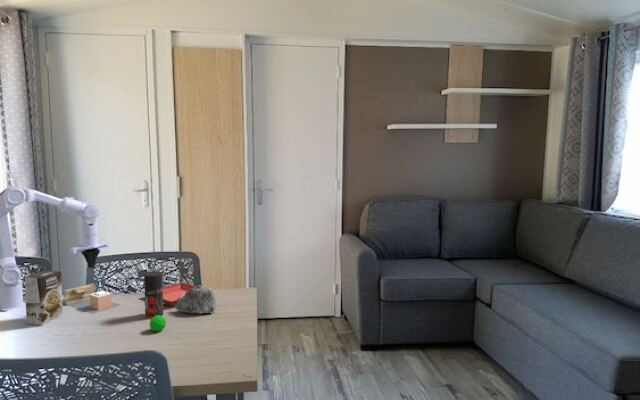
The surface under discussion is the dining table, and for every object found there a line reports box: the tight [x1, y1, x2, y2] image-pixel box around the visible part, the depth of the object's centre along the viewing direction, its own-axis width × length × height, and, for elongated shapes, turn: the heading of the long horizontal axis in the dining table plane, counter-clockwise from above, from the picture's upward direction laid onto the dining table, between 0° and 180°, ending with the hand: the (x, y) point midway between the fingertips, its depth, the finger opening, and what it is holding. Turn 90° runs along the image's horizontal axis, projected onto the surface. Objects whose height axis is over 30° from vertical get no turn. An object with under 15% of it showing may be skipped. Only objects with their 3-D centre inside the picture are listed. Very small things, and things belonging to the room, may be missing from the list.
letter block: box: [90, 290, 112, 310], centre depth 160 cm, size 5×5×5 cm
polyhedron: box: [149, 315, 167, 332], centre depth 141 cm, size 5×5×5 cm
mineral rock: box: [174, 284, 217, 314], centre depth 158 cm, size 13×11×10 cm
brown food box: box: [24, 270, 64, 326], centre depth 148 cm, size 9×6×16 cm
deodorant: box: [143, 270, 164, 319], centre depth 154 cm, size 6×6×15 cm
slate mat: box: [62, 299, 121, 315], centre depth 165 cm, size 25×11×1 cm, turn 59°
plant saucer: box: [143, 282, 197, 307], centre depth 173 cm, size 18×18×3 cm
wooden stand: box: [62, 282, 96, 306], centre depth 166 cm, size 6×11×5 cm, turn 149°
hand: (91, 267), depth 176 cm, fingers closed
